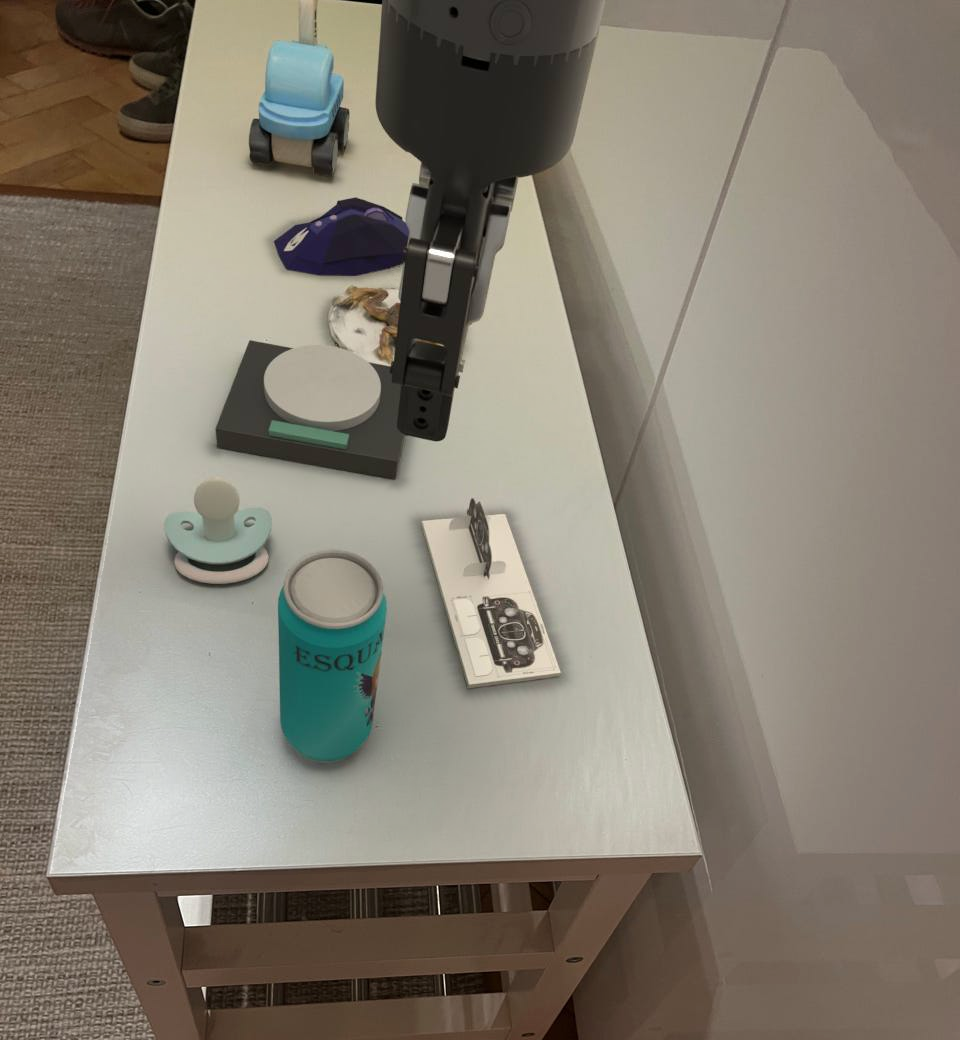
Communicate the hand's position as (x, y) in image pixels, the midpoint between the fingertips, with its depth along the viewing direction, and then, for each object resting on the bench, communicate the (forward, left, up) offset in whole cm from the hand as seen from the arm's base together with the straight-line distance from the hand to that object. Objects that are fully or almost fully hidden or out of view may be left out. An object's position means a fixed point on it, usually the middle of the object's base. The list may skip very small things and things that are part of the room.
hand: (437, 373), depth 47 cm
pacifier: (-14, +8, -26) cm, 30 cm away
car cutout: (+6, +8, -26) cm, 28 cm away
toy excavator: (-19, +65, -26) cm, 73 cm away
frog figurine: (-5, +36, -26) cm, 45 cm away
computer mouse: (-11, +48, -26) cm, 56 cm away
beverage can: (-4, -5, -26) cm, 26 cm away
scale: (-10, +24, -26) cm, 36 cm away
